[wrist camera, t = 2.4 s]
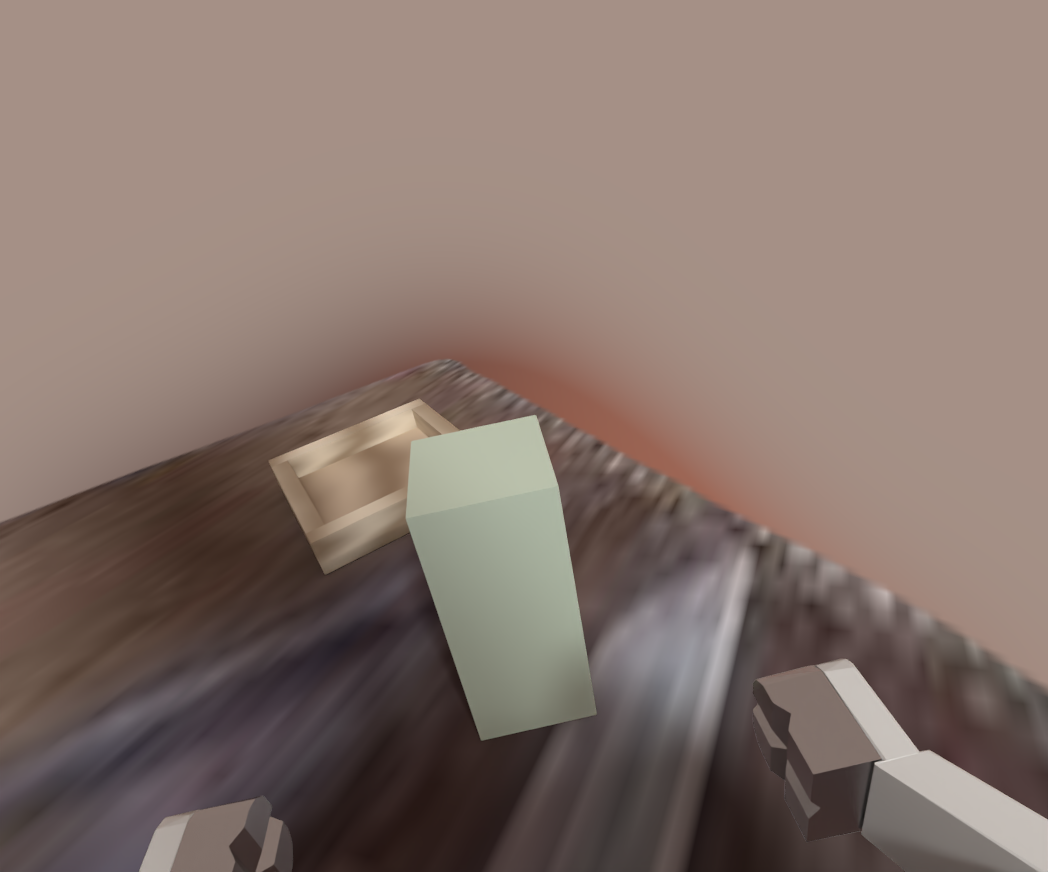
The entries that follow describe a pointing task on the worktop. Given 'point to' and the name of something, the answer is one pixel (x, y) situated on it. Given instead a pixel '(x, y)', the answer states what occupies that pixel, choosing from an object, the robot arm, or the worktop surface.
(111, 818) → the worktop surface
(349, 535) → the ash wood holder
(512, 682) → the sage block
